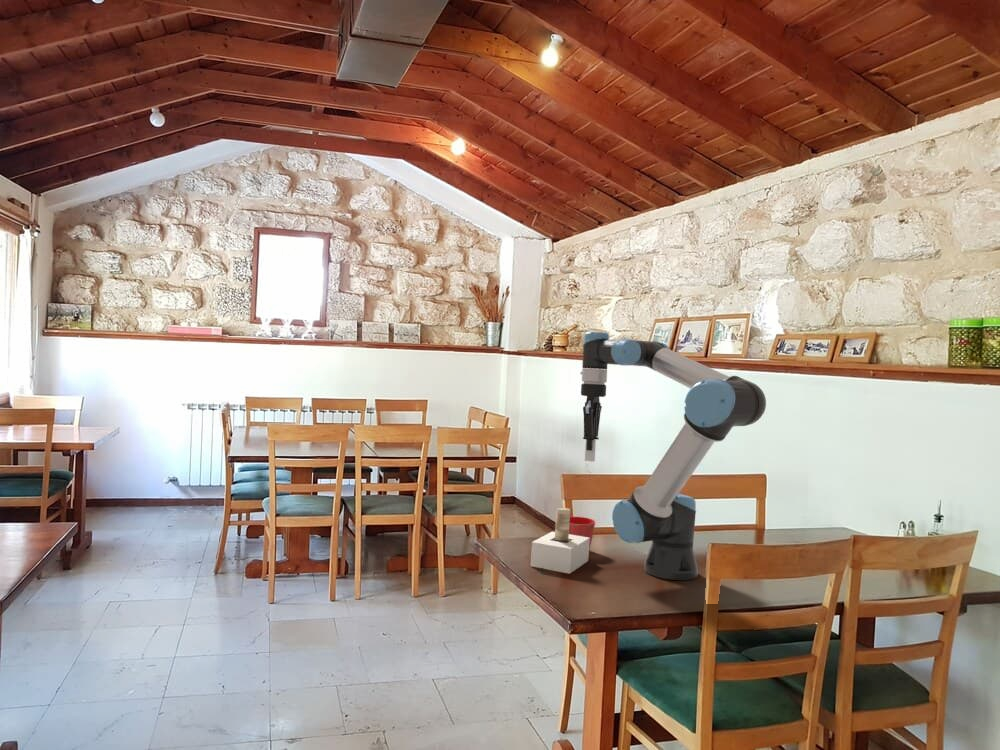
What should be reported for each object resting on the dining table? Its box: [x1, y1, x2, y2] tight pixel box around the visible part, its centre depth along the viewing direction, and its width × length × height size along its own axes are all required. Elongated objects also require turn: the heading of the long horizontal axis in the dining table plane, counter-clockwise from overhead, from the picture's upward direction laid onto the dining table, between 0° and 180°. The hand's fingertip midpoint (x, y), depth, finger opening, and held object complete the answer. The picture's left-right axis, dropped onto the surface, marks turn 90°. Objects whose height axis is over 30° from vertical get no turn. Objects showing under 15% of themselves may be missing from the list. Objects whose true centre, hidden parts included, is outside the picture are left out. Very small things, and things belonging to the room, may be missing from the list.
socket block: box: [529, 531, 590, 574], centre depth 219 cm, size 12×16×7 cm
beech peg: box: [554, 507, 571, 543], centre depth 219 cm, size 4×4×14 cm
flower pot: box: [569, 516, 596, 550], centre depth 235 cm, size 11×11×10 cm
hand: (589, 460), depth 226 cm, fingers closed
